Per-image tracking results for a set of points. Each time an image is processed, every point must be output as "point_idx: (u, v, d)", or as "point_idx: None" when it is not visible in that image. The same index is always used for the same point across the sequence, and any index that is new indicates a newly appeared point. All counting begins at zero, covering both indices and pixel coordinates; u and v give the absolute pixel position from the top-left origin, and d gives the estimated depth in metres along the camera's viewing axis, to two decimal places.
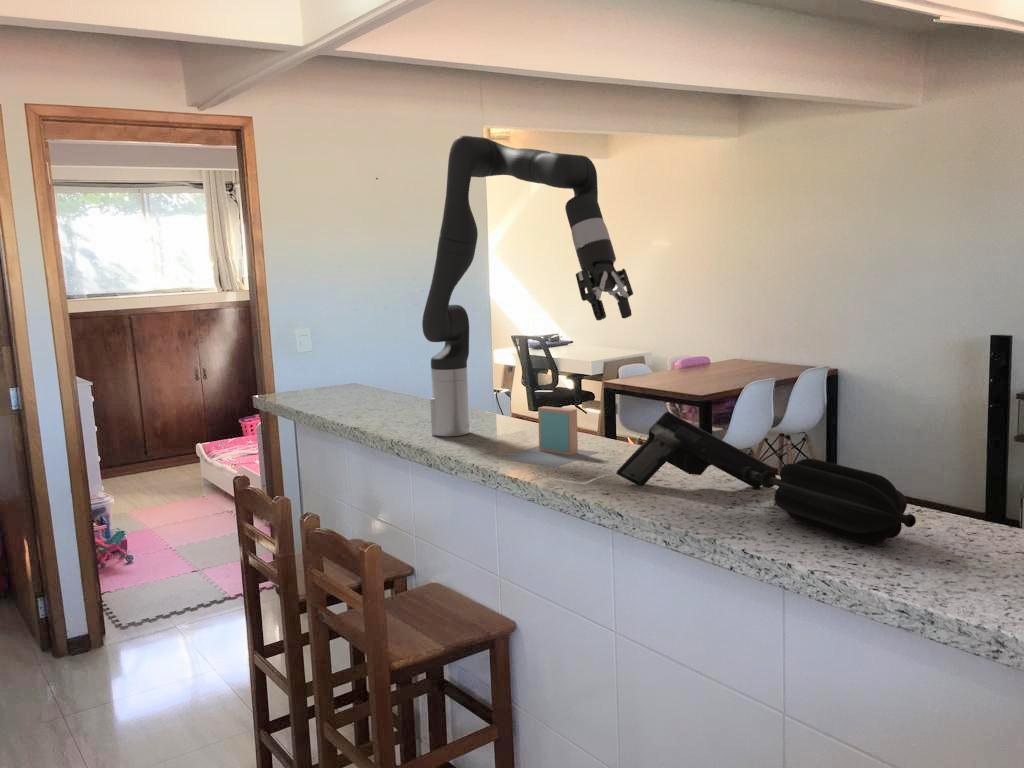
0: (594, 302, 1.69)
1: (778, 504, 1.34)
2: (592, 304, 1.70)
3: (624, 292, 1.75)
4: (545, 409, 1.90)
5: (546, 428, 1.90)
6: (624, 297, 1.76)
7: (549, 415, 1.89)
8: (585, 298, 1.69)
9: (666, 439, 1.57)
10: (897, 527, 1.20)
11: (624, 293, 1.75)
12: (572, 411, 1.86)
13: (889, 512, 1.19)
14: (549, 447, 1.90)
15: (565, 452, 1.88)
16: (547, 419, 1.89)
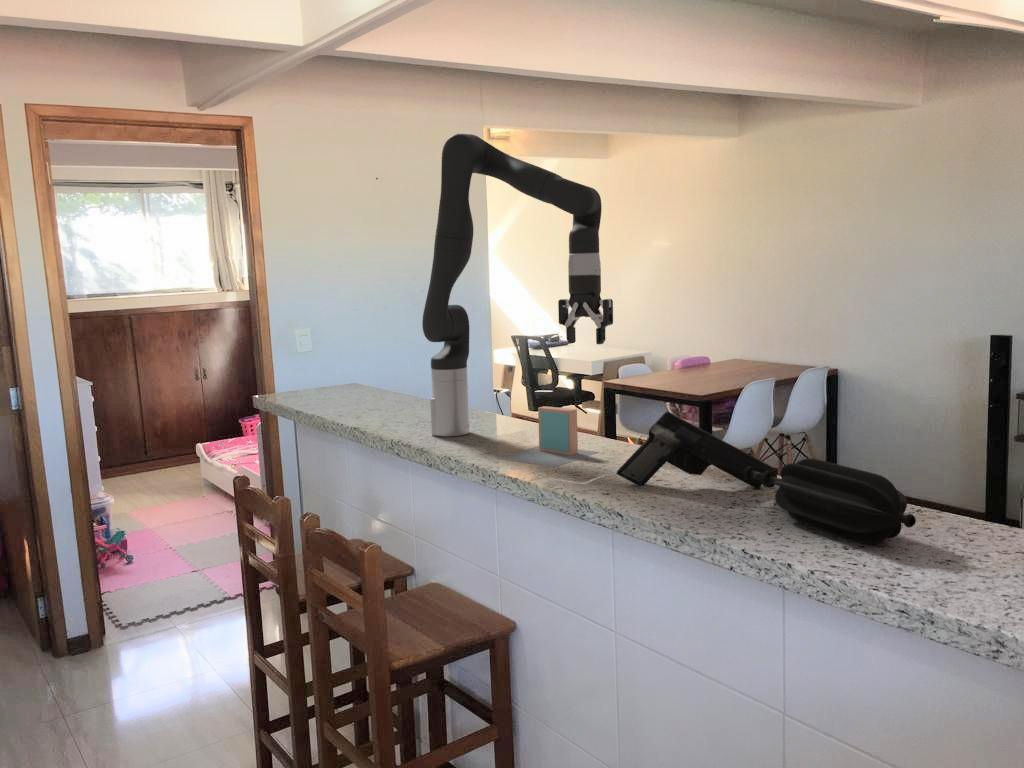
0: (604, 328, 1.94)
1: (779, 504, 1.34)
2: (602, 329, 1.94)
3: None
4: (545, 409, 1.90)
5: (546, 428, 1.90)
6: (573, 325, 2.00)
7: (549, 415, 1.89)
8: (608, 324, 1.93)
9: (666, 439, 1.57)
10: (897, 527, 1.20)
11: None
12: (572, 411, 1.86)
13: (889, 512, 1.19)
14: (549, 447, 1.90)
15: (565, 452, 1.88)
16: (547, 419, 1.89)
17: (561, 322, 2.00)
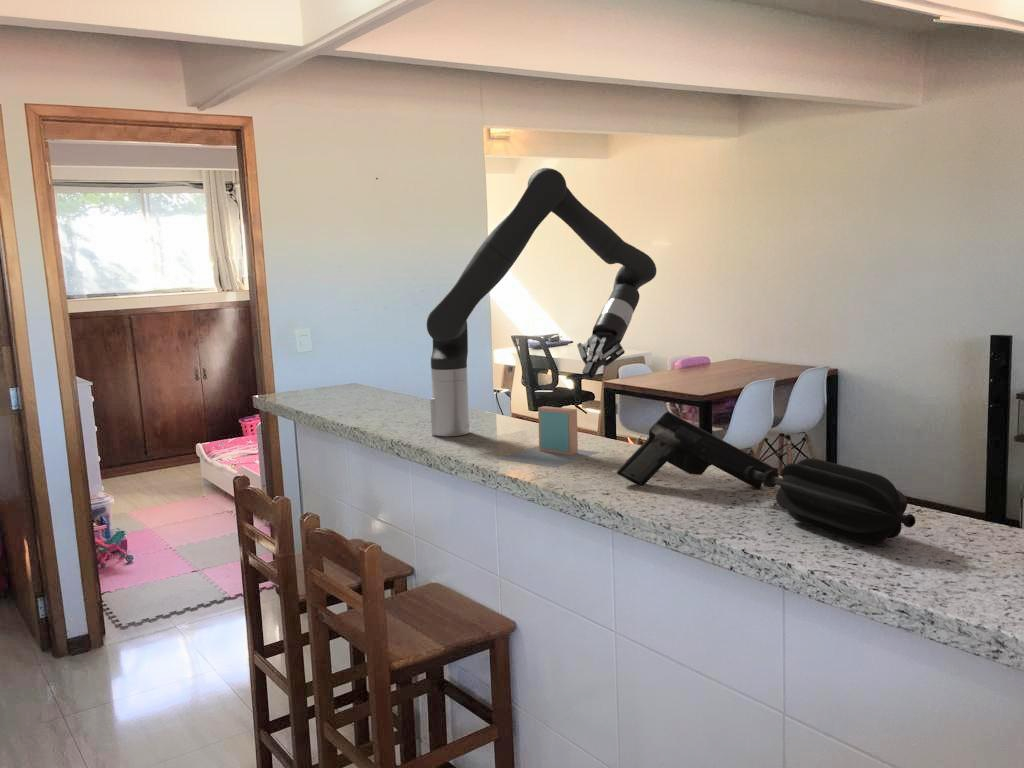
0: (597, 366, 1.99)
1: (779, 504, 1.35)
2: (596, 365, 1.98)
3: None
4: (545, 409, 1.90)
5: (546, 428, 1.90)
6: None
7: (549, 415, 1.89)
8: (602, 361, 1.98)
9: (666, 439, 1.57)
10: (897, 527, 1.20)
11: None
12: (572, 411, 1.86)
13: (889, 512, 1.19)
14: (549, 447, 1.90)
15: (565, 452, 1.88)
16: (547, 419, 1.89)
17: (584, 356, 2.01)
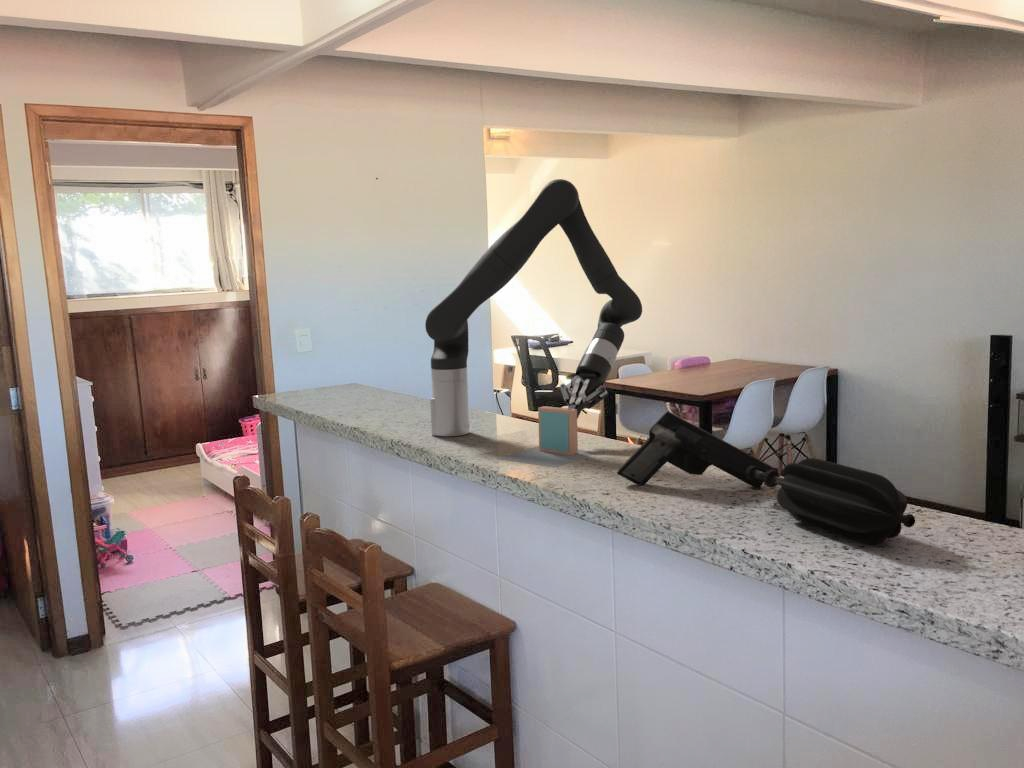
0: (580, 409, 1.94)
1: (780, 503, 1.35)
2: (579, 408, 1.94)
3: None
4: (545, 409, 1.90)
5: (546, 428, 1.90)
6: None
7: (549, 415, 1.89)
8: (585, 404, 1.93)
9: (666, 439, 1.57)
10: (897, 527, 1.20)
11: None
12: (572, 411, 1.86)
13: (888, 512, 1.19)
14: (549, 447, 1.90)
15: (565, 452, 1.88)
16: (547, 419, 1.89)
17: (567, 398, 1.96)
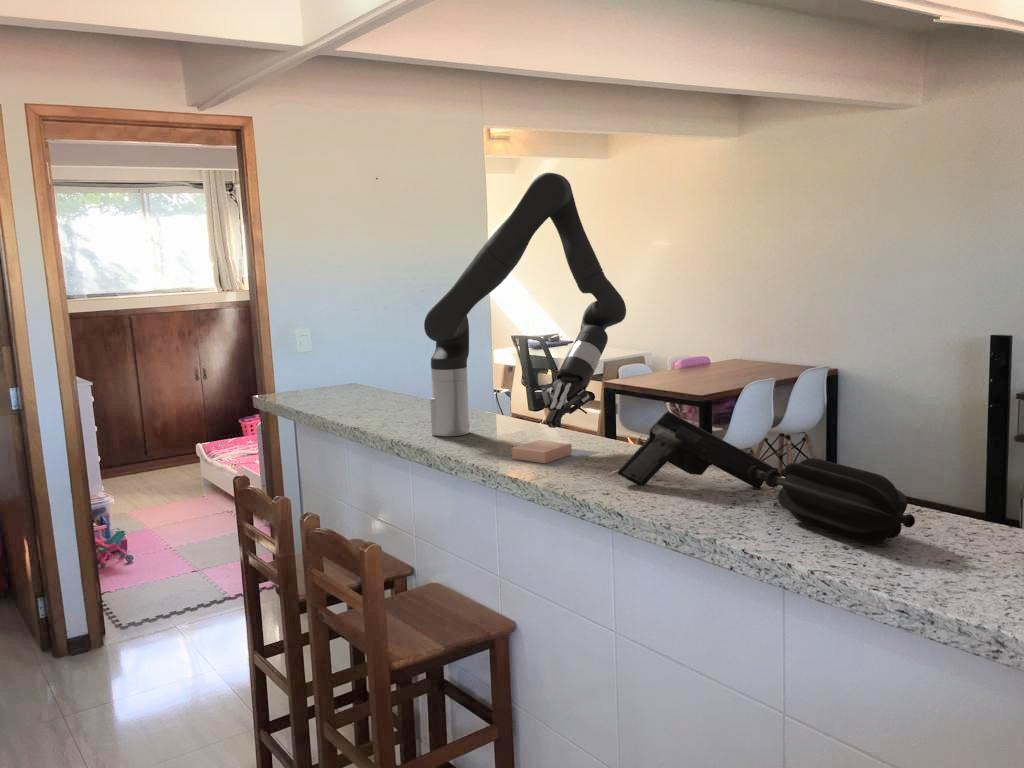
0: (562, 414, 1.88)
1: (781, 503, 1.35)
2: (560, 413, 1.88)
3: None
4: (519, 459, 1.83)
5: None
6: None
7: None
8: (567, 409, 1.88)
9: (667, 439, 1.57)
10: (897, 527, 1.20)
11: None
12: (545, 460, 1.79)
13: (888, 512, 1.19)
14: None
15: None
16: None
17: (548, 403, 1.90)
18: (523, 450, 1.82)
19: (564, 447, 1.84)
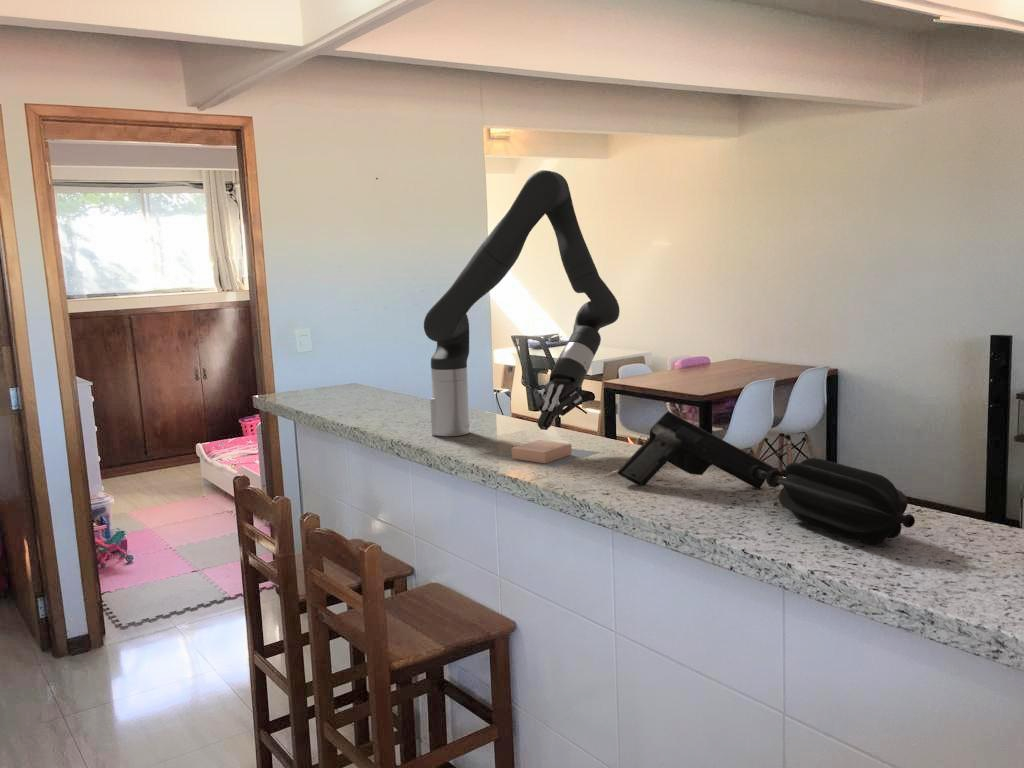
0: (554, 416, 1.86)
1: (782, 503, 1.35)
2: (552, 415, 1.85)
3: None
4: (519, 459, 1.83)
5: None
6: None
7: None
8: (559, 411, 1.85)
9: (667, 439, 1.57)
10: (897, 527, 1.20)
11: None
12: (545, 460, 1.79)
13: (888, 512, 1.19)
14: None
15: None
16: None
17: (540, 405, 1.88)
18: (523, 450, 1.82)
19: (564, 447, 1.84)
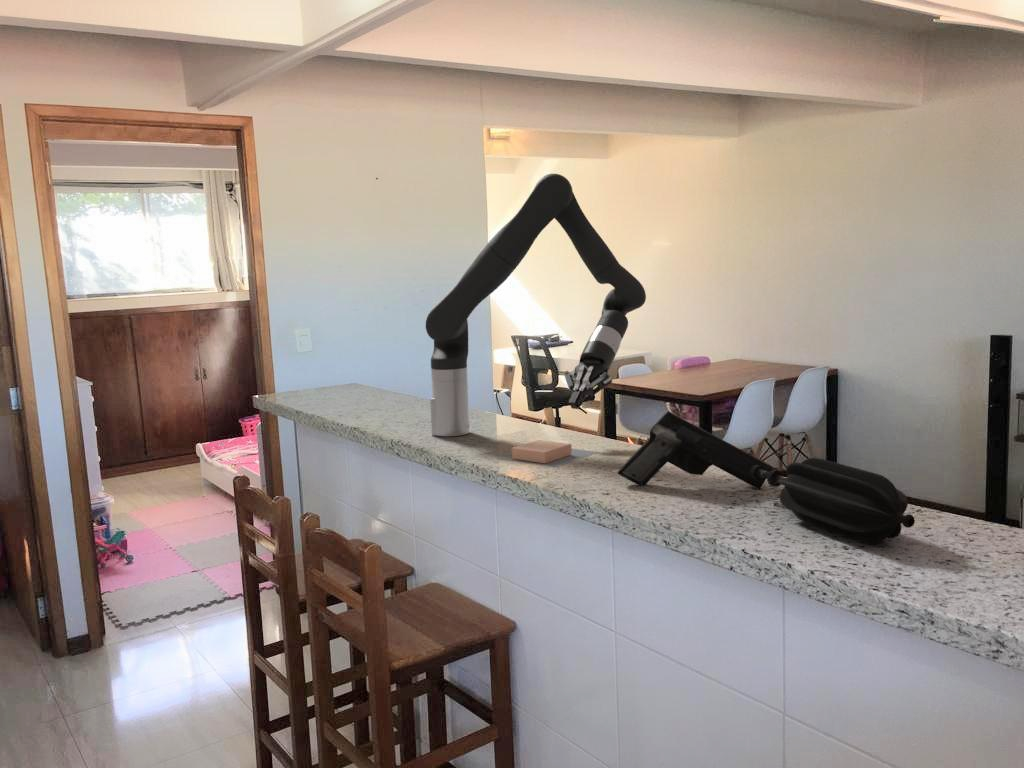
0: (584, 395, 1.95)
1: (782, 503, 1.35)
2: (583, 394, 1.94)
3: None
4: (519, 459, 1.83)
5: None
6: None
7: None
8: (589, 391, 1.94)
9: (667, 439, 1.57)
10: (897, 527, 1.20)
11: None
12: (545, 460, 1.79)
13: (888, 512, 1.19)
14: None
15: None
16: None
17: (571, 385, 1.97)
18: (523, 450, 1.82)
19: (564, 447, 1.84)
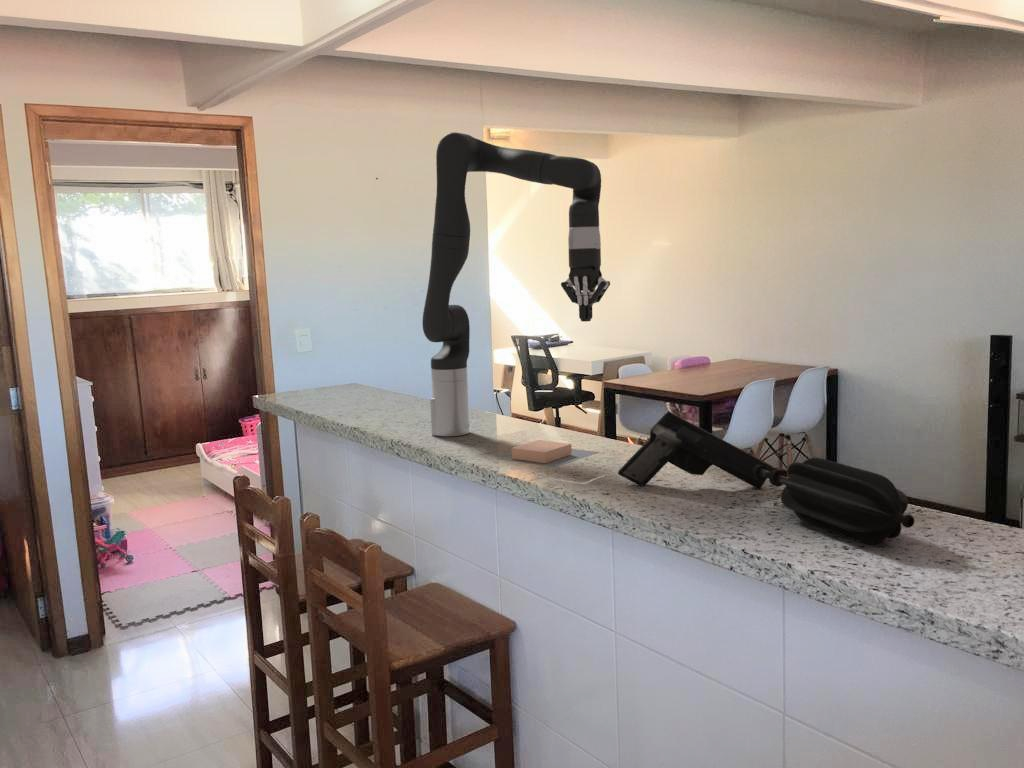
0: (591, 306, 1.98)
1: (783, 502, 1.35)
2: (589, 307, 1.97)
3: None
4: (519, 459, 1.83)
5: None
6: None
7: None
8: (594, 302, 1.96)
9: (667, 439, 1.57)
10: (897, 527, 1.20)
11: None
12: (545, 460, 1.79)
13: (888, 512, 1.19)
14: None
15: None
16: None
17: (574, 300, 1.99)
18: (523, 450, 1.82)
19: (564, 447, 1.84)
